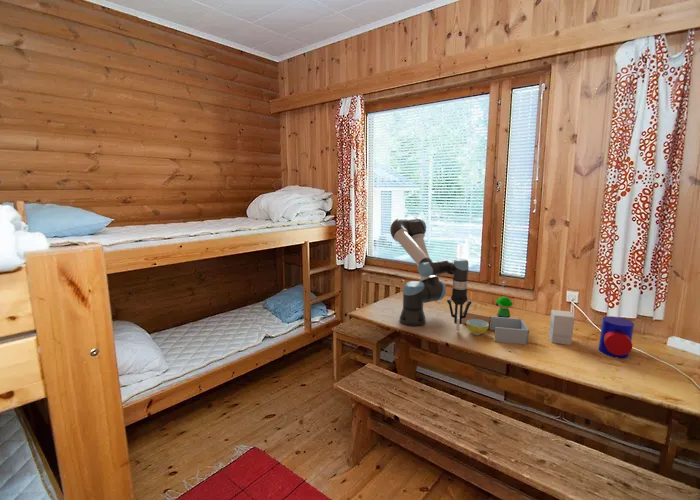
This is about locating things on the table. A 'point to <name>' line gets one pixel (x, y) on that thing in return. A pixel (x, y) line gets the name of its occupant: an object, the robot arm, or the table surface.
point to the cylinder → (616, 336)
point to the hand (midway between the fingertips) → (457, 329)
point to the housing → (509, 330)
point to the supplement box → (561, 327)
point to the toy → (504, 307)
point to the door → (476, 316)
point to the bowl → (477, 326)
